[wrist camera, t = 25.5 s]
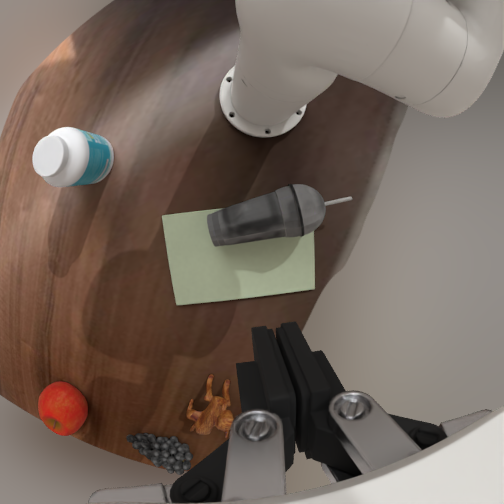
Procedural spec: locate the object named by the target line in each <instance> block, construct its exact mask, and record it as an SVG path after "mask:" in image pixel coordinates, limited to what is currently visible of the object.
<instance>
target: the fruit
mask: <svg viewBox="0 0 504 504" xmlns="http://www.w3.org/2000/svg"><path fill="white" fill-rule="evenodd" d="M127 441H128V442H131V443H133V444H132V446H133V448H134V449H139V453H140V454H142V455H145V456H146V457H147V459H149V460H151V461H152V462H153V463H154V465H155V466H157V467H160V466H161V465H163V467H164V468H166V469H167V471H168V472H169V473H174V471H175V472H176V473H177V474H179V475H181V474H183V473H184V470H189V469H190V467H191V463H190V462H189V460H191V459H192V458H193V454H191V453H189V452H190V451H189V446H188V445H187V444H182V445H181V443H179V441H178V439H177V437H175V436H172V437H170V440H169V439H168V438H167V437H158V438H157V439H156V437H155V435H153V434H147V433H143V434H139V433H138V434H136V435H135V436H133V435H128V436H127ZM184 459H186V460H184Z"/></svg>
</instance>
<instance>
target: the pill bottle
mask: <svg viewBox="0 0 504 504" xmlns="http://www.w3.org/2000/svg"><path fill="white" fill-rule="evenodd" d="M113 161H114V152H113V148H112V146H111V144H110V143H109V141H108V140H107V139H105V138H104V137H102V136H99V135H96V134H92V133H89V132H85V131H82V130H79V129H75V128H71V127H63V128H59V129H57V130H55V131H53V132H52V133H51V134H49V135H48V136H46V137H44V138H42V139H41V140H40V141H39V142H38V144H37V145H36V147H35V149H34V152H33V166H34V169H35V171H36V172H37V173H38V174H39V175H40V176H42V177H43V179H44V180H45V181H46V182H47V183H48V184H50V185H52V186H54V187H69V186H77V185H87V184H94V183H97V182H100V181H101V180H103V179H104V178H105V177H106V176H107V175H108V173H109V172H110V170H111V168H112V165H113Z"/></svg>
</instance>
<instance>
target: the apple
mask: <svg viewBox="0 0 504 504" xmlns="http://www.w3.org/2000/svg"><path fill="white" fill-rule="evenodd" d="M38 410H39V414H40V418H41V420H42V421H43V422H44V424H45V425H46V426H47V427H48V428H49V429H50V430H52V431H53V432H55V433H56V434H59V435H62V436H68V435H71V434H73V433H75V432H76V431H77V430H79V428H80V427H81V426H82V425H83V423H84V422H85V420H86V418H87V414H88V403H87V401H86V399H85V397H84V396H83V394H82V393H81V392H80V391H79V390H78V389H77V388H76V387H74V386H73V385H71V384H69V383H67V382H62V381H58V382H54V383H52V384H50V385H48V386H47V387H46V388H45V389H44V390H43V392H42V393H41V395H40V397H39V401H38Z"/></svg>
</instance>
